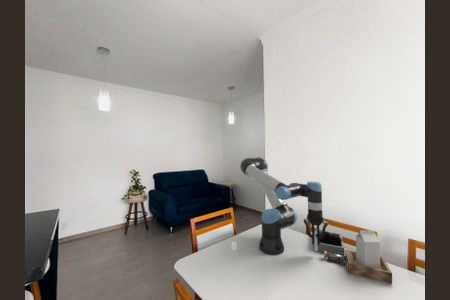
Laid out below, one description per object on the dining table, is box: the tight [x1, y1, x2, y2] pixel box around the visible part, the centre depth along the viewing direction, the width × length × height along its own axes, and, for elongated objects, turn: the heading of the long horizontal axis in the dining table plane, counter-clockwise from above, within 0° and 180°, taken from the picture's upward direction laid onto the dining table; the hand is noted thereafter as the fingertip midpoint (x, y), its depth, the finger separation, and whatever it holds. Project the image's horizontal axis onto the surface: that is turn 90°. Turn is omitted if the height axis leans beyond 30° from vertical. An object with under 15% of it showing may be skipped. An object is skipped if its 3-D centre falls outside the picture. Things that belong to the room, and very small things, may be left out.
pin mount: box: [327, 253, 346, 266], centre depth 103 cm, size 8×6×4 cm
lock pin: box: [323, 251, 346, 262], centre depth 103 cm, size 10×4×4 cm, turn 63°
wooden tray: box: [344, 248, 393, 285], centre depth 95 cm, size 16×15×5 cm
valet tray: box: [314, 229, 345, 256], centre depth 120 cm, size 16×20×5 cm
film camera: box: [315, 231, 343, 247], centre depth 120 cm, size 15×10×9 cm, turn 70°
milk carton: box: [355, 230, 381, 269], centre depth 95 cm, size 7×7×19 cm
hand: (316, 250), depth 107 cm, fingers closed
